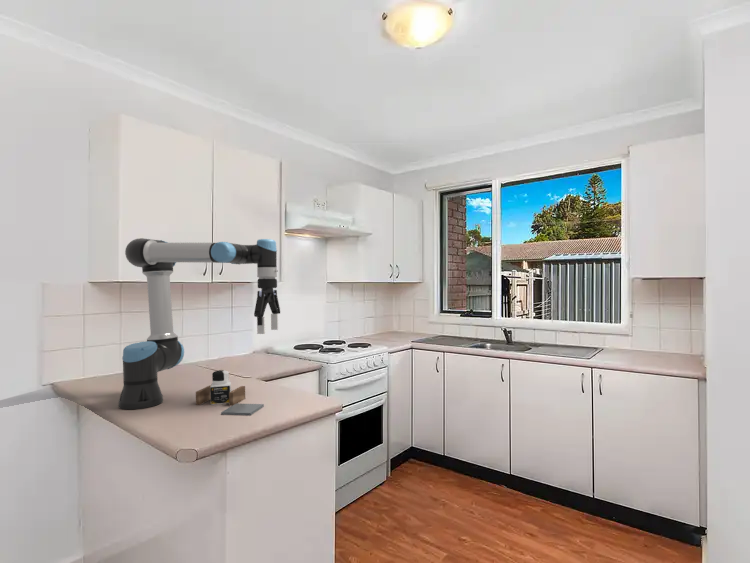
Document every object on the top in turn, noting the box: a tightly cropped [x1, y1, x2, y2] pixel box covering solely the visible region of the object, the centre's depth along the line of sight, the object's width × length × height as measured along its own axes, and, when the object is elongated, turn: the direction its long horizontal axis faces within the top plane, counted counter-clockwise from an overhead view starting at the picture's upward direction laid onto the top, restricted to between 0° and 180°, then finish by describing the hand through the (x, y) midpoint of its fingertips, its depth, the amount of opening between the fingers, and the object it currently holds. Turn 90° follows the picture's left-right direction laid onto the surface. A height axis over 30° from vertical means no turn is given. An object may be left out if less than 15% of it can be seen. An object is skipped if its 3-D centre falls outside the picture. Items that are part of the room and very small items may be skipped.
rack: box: [195, 385, 246, 407], centre depth 171 cm, size 15×10×5 cm, turn 81°
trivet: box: [220, 403, 265, 416], centre depth 159 cm, size 11×11×1 cm
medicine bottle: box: [209, 369, 232, 406], centre depth 171 cm, size 7×7×12 cm
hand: (268, 331), depth 174 cm, fingers open, 13 cm apart
